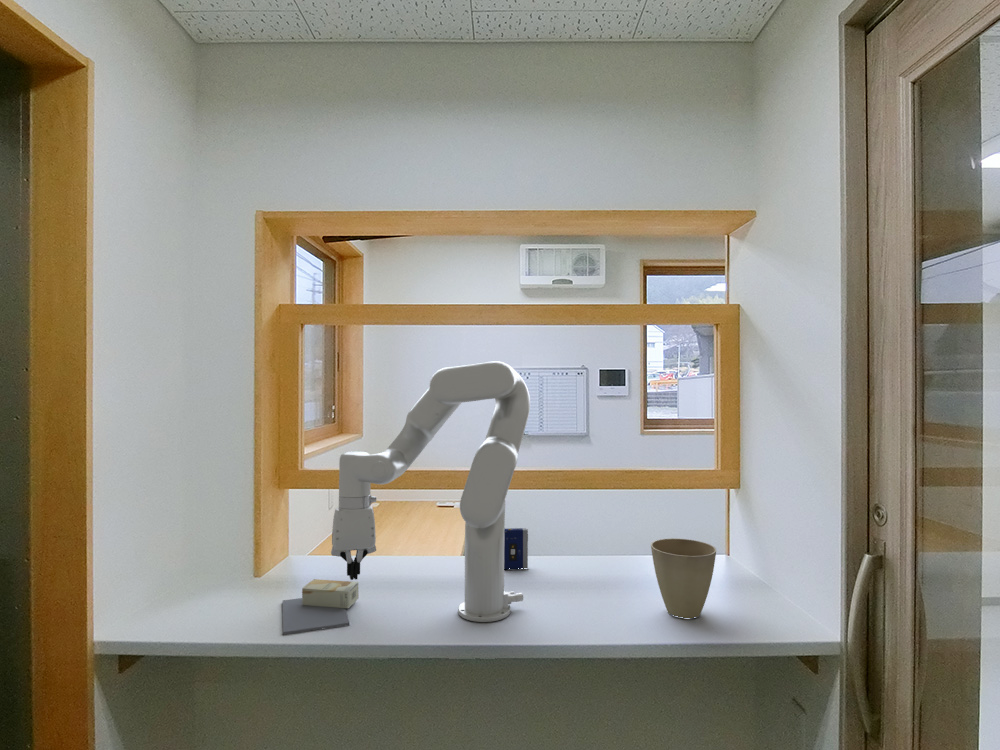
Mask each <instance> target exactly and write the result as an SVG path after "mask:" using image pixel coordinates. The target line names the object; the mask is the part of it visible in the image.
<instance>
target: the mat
mask: <svg viewBox="0 0 1000 750" xmlns="http://www.w3.org/2000/svg"><path fill="white" fill-rule="evenodd" d="M345 625H348V626H350V620H349V617H348V614H347V610H346V608H336V607H323V606H309V605H302V597H299V598H298V597H297V598H291V599H284V600H282V635H283V636H284V635H292V633H293V634H299V633H306V632H305V631H307V632H312V631H311V630H314V631H318V630H317V629H321V630H323V629H322V628H328V629H332V628H331V627H334V628H338V627H337V626H341V627H346V626H345Z"/></svg>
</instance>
